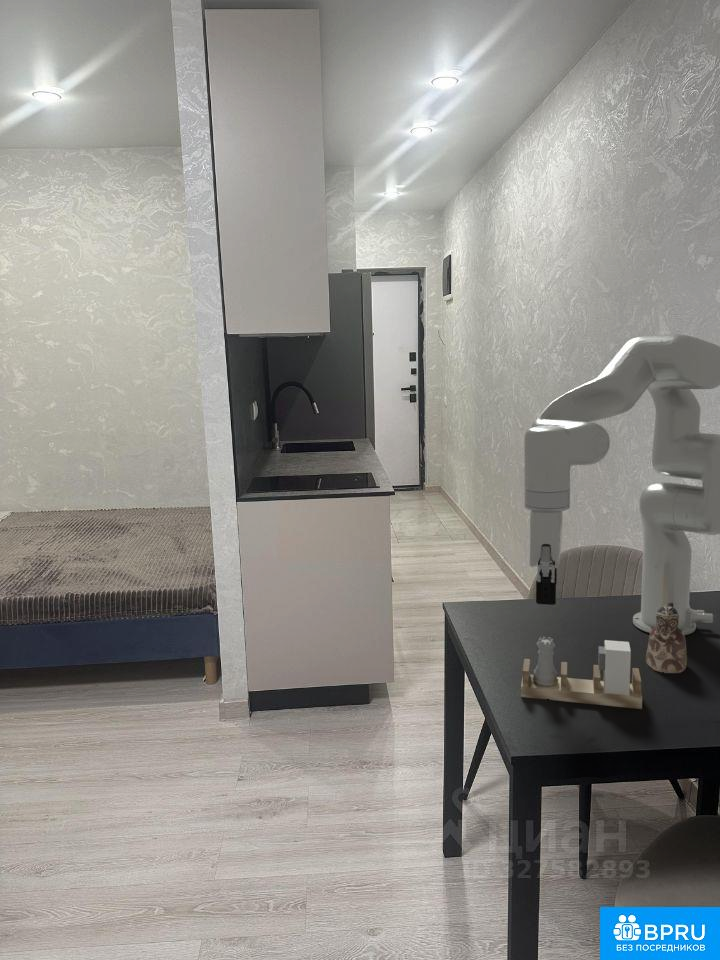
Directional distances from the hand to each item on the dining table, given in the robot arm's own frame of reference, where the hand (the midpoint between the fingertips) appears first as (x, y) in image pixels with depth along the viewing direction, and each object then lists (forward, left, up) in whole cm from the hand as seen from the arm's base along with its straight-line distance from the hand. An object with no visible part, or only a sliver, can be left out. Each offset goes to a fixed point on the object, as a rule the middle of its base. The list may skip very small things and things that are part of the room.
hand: (546, 593), depth 122 cm
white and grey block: (-12, +1, -16) cm, 20 cm away
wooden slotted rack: (-6, +1, -18) cm, 19 cm away
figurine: (-22, -15, -19) cm, 33 cm away
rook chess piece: (0, +1, -17) cm, 17 cm away
